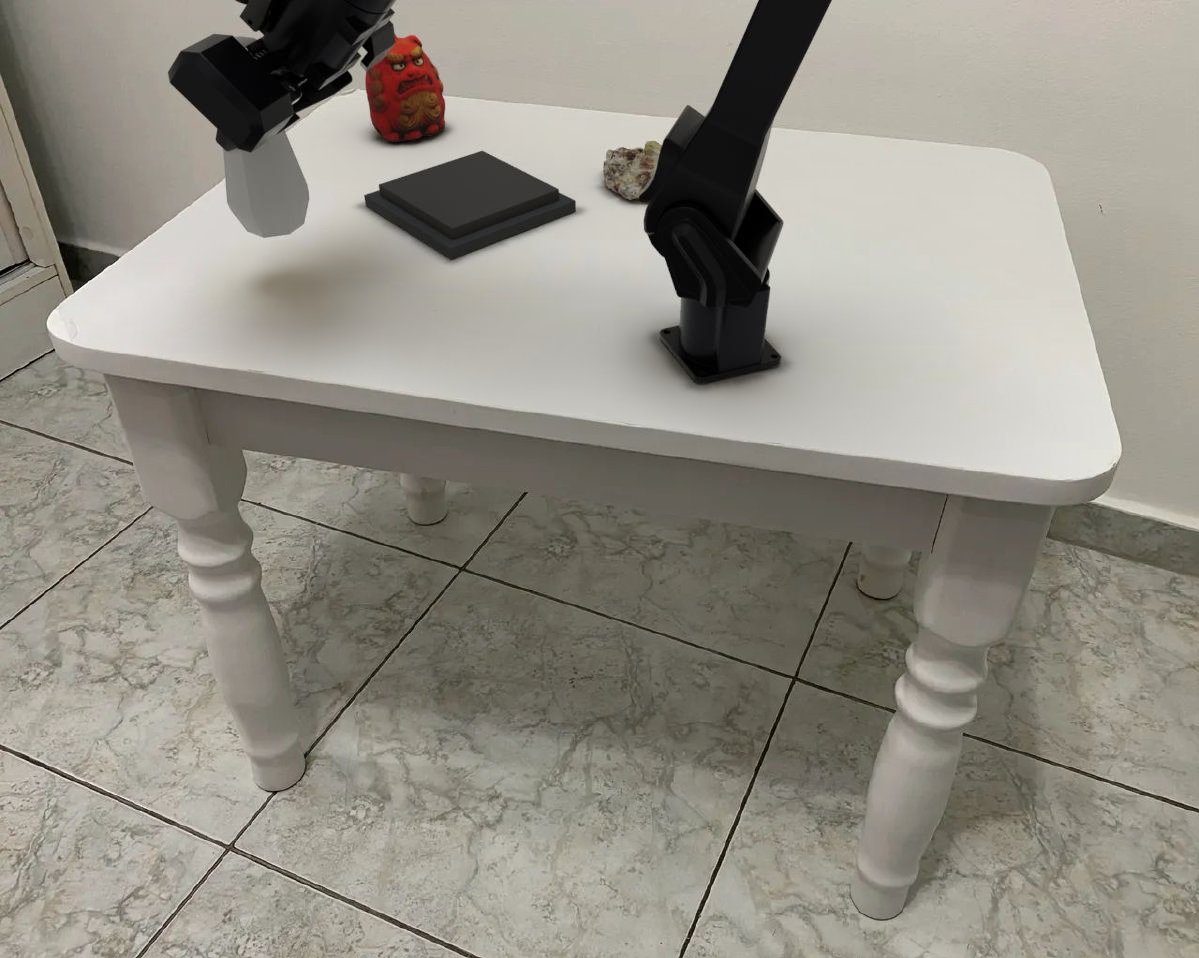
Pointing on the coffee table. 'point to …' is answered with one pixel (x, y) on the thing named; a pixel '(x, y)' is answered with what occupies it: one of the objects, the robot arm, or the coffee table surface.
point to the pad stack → (468, 203)
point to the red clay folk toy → (405, 93)
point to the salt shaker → (266, 185)
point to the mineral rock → (631, 169)
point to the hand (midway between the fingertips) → (237, 135)
